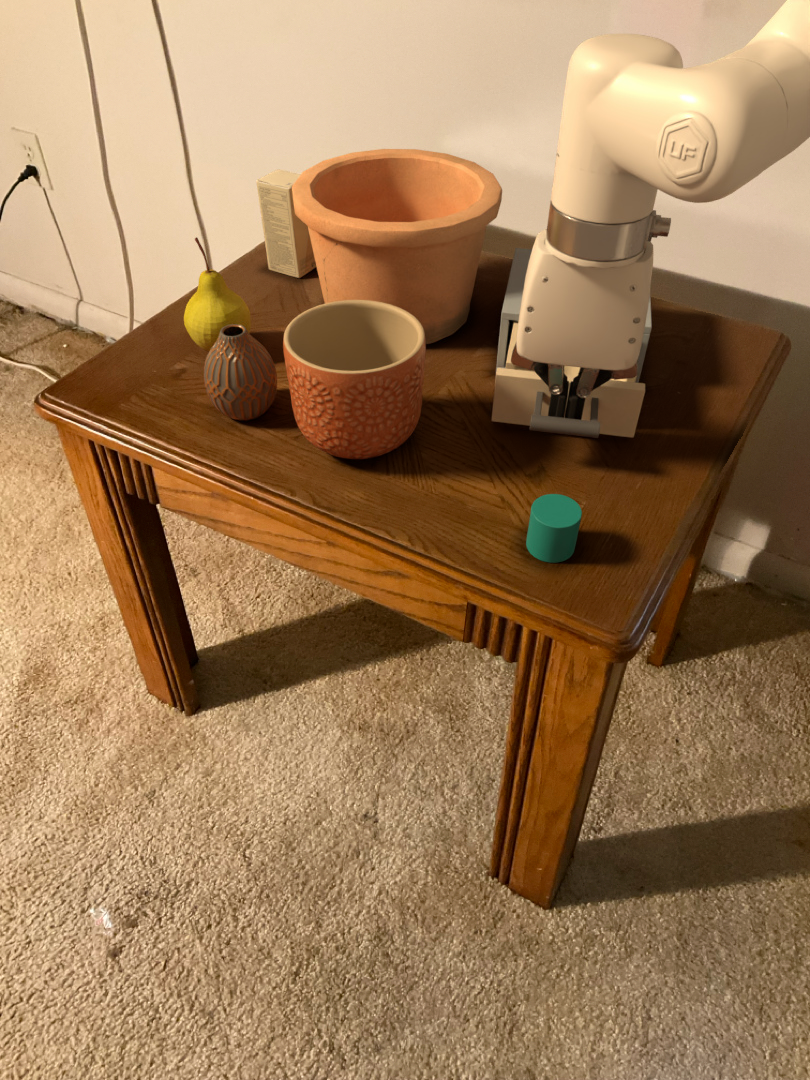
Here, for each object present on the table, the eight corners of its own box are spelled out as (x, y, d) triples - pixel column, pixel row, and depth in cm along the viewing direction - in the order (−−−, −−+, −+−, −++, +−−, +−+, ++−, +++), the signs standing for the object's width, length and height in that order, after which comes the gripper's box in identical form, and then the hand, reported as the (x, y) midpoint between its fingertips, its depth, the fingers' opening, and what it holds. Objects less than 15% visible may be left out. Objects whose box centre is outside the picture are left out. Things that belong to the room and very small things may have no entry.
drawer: (633, 473, 73) (646, 425, 69) (484, 454, 75) (489, 407, 71) (632, 361, 86) (643, 315, 83) (505, 347, 88) (510, 302, 84)
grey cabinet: (637, 388, 84) (651, 327, 79) (495, 373, 86) (501, 312, 81) (635, 317, 94) (649, 259, 89) (509, 305, 96) (515, 247, 91)
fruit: (264, 355, 88) (250, 248, 80) (205, 373, 86) (183, 265, 77) (239, 327, 93) (223, 222, 84) (181, 343, 90) (159, 237, 82)
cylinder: (575, 532, 69) (583, 496, 66) (573, 566, 66) (581, 530, 63) (528, 526, 70) (533, 490, 67) (524, 559, 67) (529, 523, 64)
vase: (245, 438, 78) (232, 359, 72) (195, 412, 81) (179, 334, 75) (295, 405, 82) (286, 326, 76) (245, 381, 85) (233, 304, 79)
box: (320, 266, 103) (313, 176, 95) (299, 279, 101) (290, 188, 93) (286, 255, 105) (277, 167, 97) (265, 269, 103) (254, 178, 95)
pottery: (497, 362, 87) (510, 231, 77) (292, 360, 88) (277, 229, 78) (487, 268, 103) (496, 148, 93) (312, 266, 103) (302, 146, 93)
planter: (388, 492, 73) (387, 388, 65) (268, 454, 76) (254, 352, 69) (443, 417, 81) (448, 316, 73) (333, 386, 84) (326, 287, 77)
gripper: (696, 215, 63) (646, 410, 76) (503, 199, 65) (486, 392, 78) (702, 259, 58) (647, 460, 71) (492, 240, 60) (476, 439, 73)
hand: (563, 424), depth 75 cm, fingers closed
